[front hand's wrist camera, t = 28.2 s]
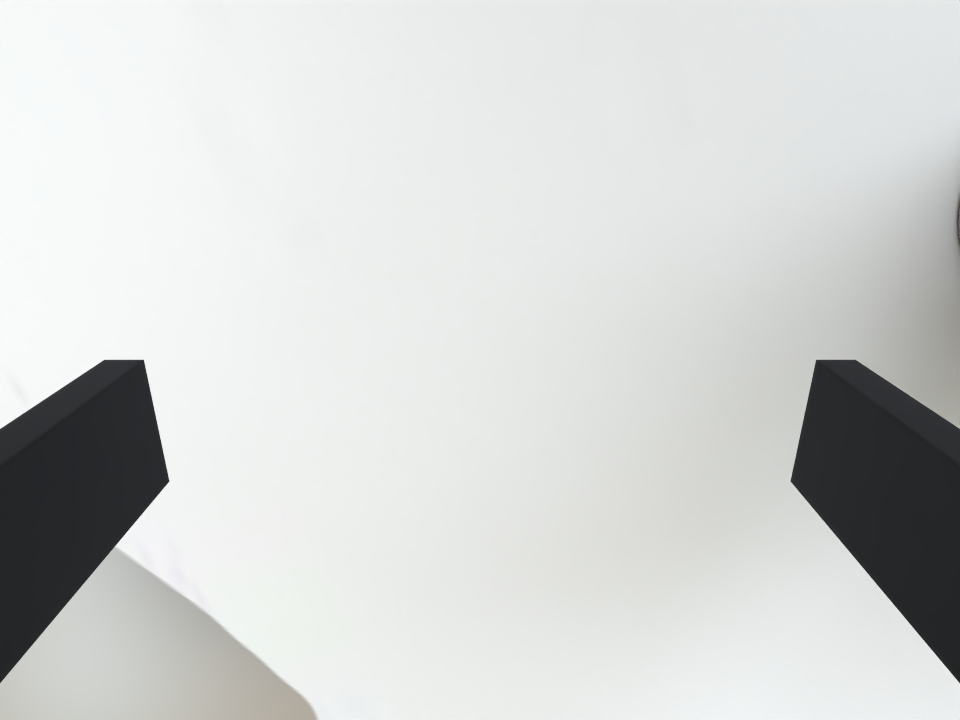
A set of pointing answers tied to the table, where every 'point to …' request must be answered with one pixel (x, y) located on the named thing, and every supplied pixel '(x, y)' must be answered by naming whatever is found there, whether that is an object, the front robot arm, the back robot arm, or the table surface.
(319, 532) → the table surface
